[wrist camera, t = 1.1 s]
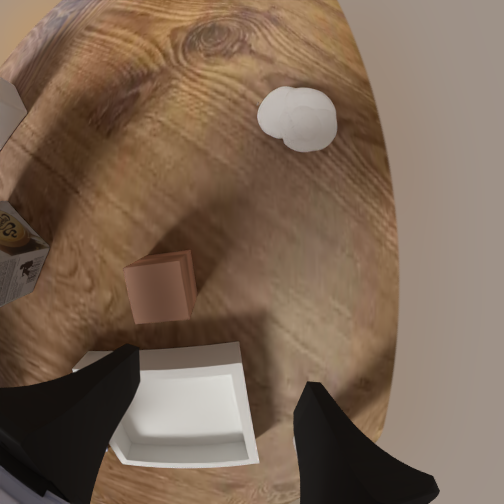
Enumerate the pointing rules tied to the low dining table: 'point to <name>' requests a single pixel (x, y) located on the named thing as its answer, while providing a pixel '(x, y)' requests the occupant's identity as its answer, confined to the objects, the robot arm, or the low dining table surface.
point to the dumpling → (299, 118)
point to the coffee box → (18, 255)
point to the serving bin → (186, 409)
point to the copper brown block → (161, 287)
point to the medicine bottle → (9, 110)
